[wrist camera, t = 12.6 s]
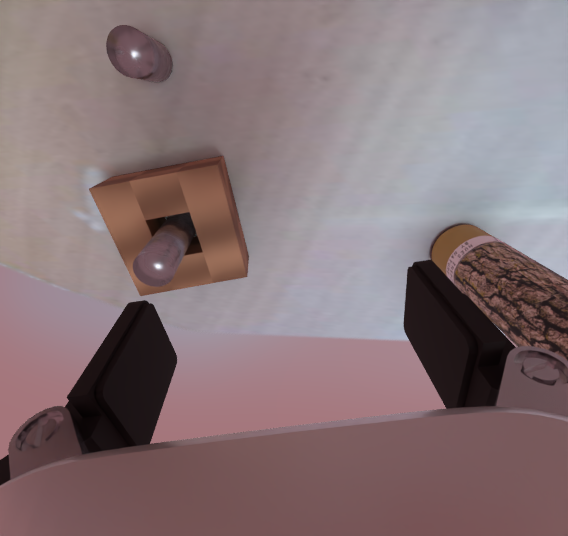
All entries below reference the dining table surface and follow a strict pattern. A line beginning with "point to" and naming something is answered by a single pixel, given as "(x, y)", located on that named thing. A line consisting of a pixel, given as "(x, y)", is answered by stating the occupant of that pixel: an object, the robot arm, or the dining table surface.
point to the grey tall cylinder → (165, 251)
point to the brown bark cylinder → (507, 287)
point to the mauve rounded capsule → (138, 54)
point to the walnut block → (170, 201)
